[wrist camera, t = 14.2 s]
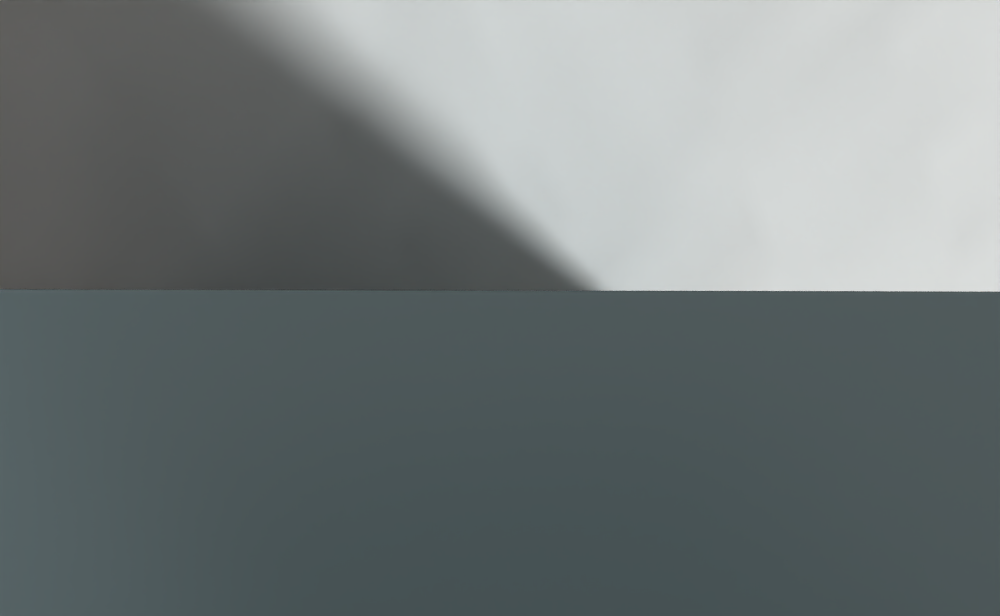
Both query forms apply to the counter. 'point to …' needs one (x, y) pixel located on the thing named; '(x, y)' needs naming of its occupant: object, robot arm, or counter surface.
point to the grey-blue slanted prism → (499, 453)
